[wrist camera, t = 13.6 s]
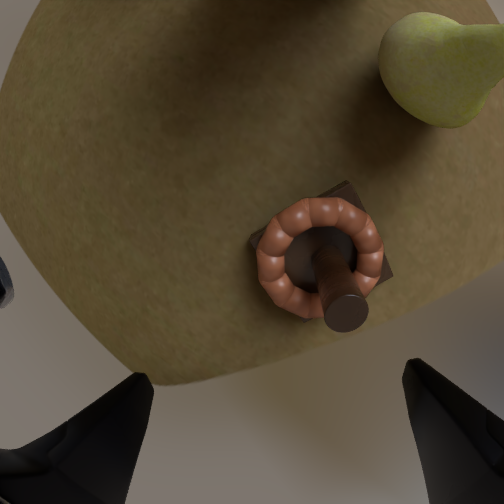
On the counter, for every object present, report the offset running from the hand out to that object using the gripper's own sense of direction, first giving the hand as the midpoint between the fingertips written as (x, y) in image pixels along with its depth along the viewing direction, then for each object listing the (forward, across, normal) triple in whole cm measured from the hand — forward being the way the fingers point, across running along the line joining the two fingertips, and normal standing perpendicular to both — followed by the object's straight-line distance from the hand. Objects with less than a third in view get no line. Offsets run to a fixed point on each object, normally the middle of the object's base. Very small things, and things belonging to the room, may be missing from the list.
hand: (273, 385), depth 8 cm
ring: (+9, -3, 0) cm, 9 cm away
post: (+11, -3, 0) cm, 11 cm away
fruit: (+11, -10, -12) cm, 19 cm away
